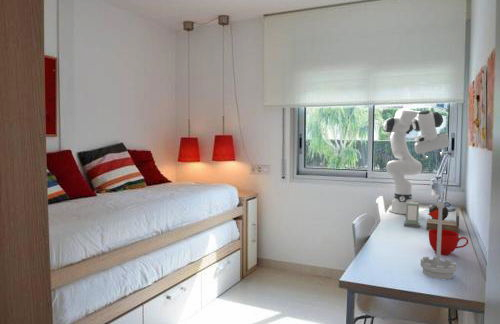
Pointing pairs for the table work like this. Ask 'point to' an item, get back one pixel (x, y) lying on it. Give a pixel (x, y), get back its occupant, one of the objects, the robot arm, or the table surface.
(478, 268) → the table surface
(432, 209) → the alarm clock
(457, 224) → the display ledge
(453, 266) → the flag stand
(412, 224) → the green pillar on base
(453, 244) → the ceramic cup
